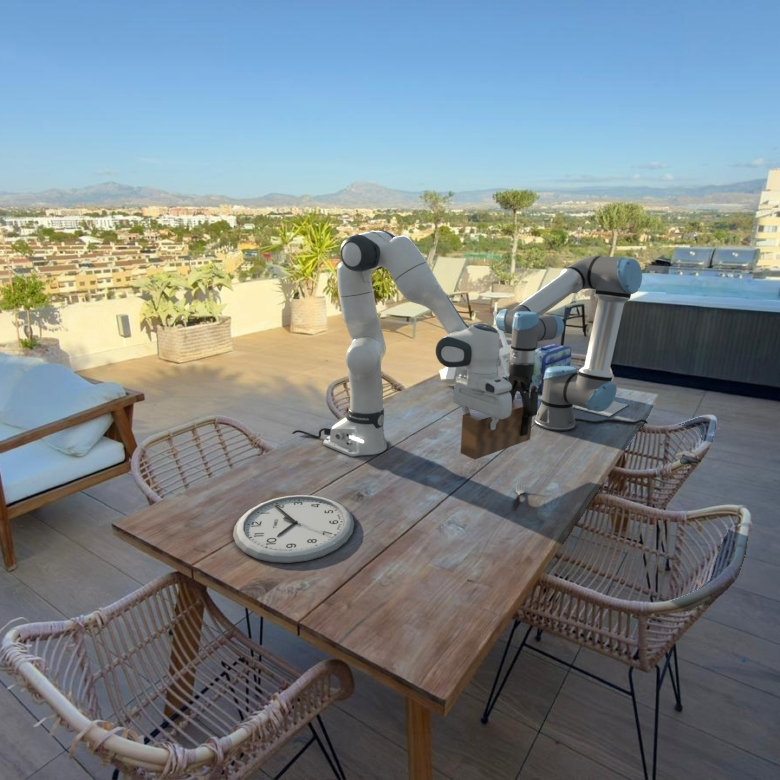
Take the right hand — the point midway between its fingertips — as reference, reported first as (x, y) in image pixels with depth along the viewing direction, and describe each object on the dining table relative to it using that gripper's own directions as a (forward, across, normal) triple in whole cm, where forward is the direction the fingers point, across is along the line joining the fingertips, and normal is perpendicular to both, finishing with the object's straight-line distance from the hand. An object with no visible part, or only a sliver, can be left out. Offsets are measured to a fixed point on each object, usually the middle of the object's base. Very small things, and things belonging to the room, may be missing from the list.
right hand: (515, 431), depth 169 cm
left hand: (-7, 0, -18) cm, 19 cm away
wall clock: (+10, -7, -76) cm, 77 cm away
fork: (+10, +17, -19) cm, 28 cm away
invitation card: (+11, -13, +75) cm, 77 cm away
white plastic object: (+11, -58, +47) cm, 75 cm away
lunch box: (+11, -43, +78) cm, 89 cm away
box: (+3, 0, -9) cm, 9 cm away
